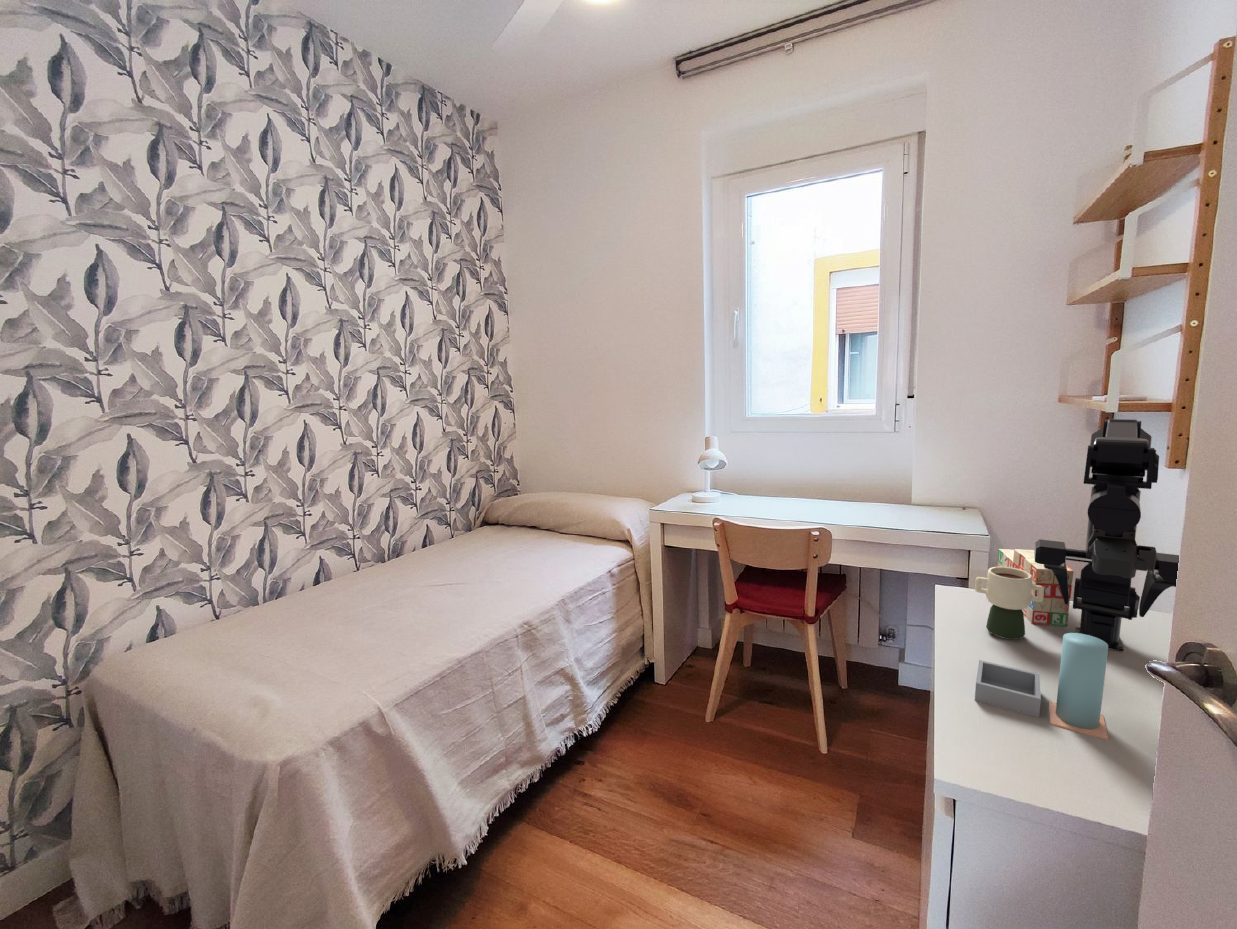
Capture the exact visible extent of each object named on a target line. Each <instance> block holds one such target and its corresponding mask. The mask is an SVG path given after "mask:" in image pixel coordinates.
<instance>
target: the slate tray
mask: <svg viewBox="0 0 1237 929" xmlns="http://www.w3.org/2000/svg"><path fill="white" fill-rule="evenodd" d="M1040 677H1041V675H1040V673H1038V672H1033V671H1029V670H1024V669H1021V668H1017V667H1016V668H1015V667H1012V666H1007V665H1003V664H998V663H994V662H990V661H985V660H982V659H979V660H978V666H977V674H976V680H975V692H974V693H975V694H974V701H976V702H981V703H984V704H988V705H990V706H991V705H992V706H995V707H999V708H1003V709H1006V710H1008V711H1009V710H1010V711H1013V712H1018V713H1020V714H1021V713H1022V714H1025V715H1029V716H1033V717H1036V718H1040V715H1041V714H1040V711H1041V701H1042V698H1041V697H1042V694H1041V693H1042V691H1041V678H1040Z"/></svg>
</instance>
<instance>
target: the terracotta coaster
mask: <svg viewBox="0 0 1237 929" xmlns="http://www.w3.org/2000/svg"><path fill="white" fill-rule="evenodd" d="M1056 704H1057V702H1056V701H1055V702H1054V701H1051V700H1049V701H1048V709H1049V710H1048V712H1049V723H1050V725H1052V726H1055V727H1059V728H1062V729H1065V730H1070V731H1073V732H1077V733H1081V734H1085V735H1088V736H1092V737H1095V738H1100V739H1103V740H1107V741H1108V740H1109V737H1108V731H1107V727H1106V722H1105V717H1104V715H1103V714H1102V713H1101V714H1100V723H1099V727H1098V728H1096V729H1083V728H1078V727H1075V726H1072V725H1070V724H1068V723H1066V722H1064V721H1062V720H1061V719H1060V718H1058V717H1057V715H1056Z"/></svg>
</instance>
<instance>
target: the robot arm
mask: <svg viewBox="0 0 1237 929" xmlns="http://www.w3.org/2000/svg"><path fill="white" fill-rule="evenodd" d="M1152 438H1153V436H1152V435H1151V434H1149V433H1148V432H1147V431H1145V430H1144V429H1143V428H1142V421H1141V420H1137V419H1130V418H1128V419H1126V418H1125V419H1123V418H1118V419H1117V418H1115V419H1114V418H1110V419H1108V420H1104V421H1103V426H1102V427H1101V428H1100V429H1098V430H1096V431H1095V432H1093V433H1092V434H1091V437H1090V444H1088V446H1087V453H1086V461H1085V469H1084V474H1083V475H1084V477H1083V484H1084V485H1093V486H1092V487H1091V492H1090V499H1089V503H1088V508H1087V517H1088V520H1087V533H1086V541H1085V550H1083V549H1074V548H1067V547H1066V543H1065V541H1056V540H1047V539H1038V540H1037V541H1035V542H1034V550H1035V551H1034V557H1035V562H1036V563H1039V564H1044V568H1046V569H1050V570H1052V571H1053V573H1054V574H1055V576H1056V578H1057V581H1058V583H1059V586H1060V589H1061V593H1062V596H1063V599H1064V603H1065V604H1067V605H1068V600H1069V593H1068V580H1067V567H1066V566H1067V564H1066V562H1067V561H1072V562H1073V561H1074V562H1079V563H1081V562H1082V563H1087V564H1086V565H1085V566H1083V567H1082V568H1081V570H1080V577H1079V578H1078V577H1075V580H1074V587H1073V598H1072V609H1075V610H1081V613H1080V623H1079V627H1078V626H1076V627H1075V630H1074V631H1075V633H1080V634H1086V635H1090V636H1093V637H1096V638H1099V639H1101V640H1103V641H1104V642H1106V643H1107V644H1108V650H1109V649H1110V650H1113V651H1120V652H1124V651H1125V650H1124V649H1125V648H1124V645H1123V642H1122V640H1121V635H1120V634H1121V626H1122V619H1127V620H1129V621H1132V620H1133V619H1134V618H1135V619H1136V618H1137V617H1138V615H1139V617H1140V618H1144V617H1145V616H1146V614H1147V613H1148V612H1149V610H1150V609H1151V607H1152V605H1153V604H1154V603H1155V602H1156V600H1157V599H1158V598H1159V596H1161V594H1162V593H1163V592H1164V591H1166V590H1167V589H1170V588H1171V587H1173V588H1177V587H1176V579H1177V571H1178V563H1179V555H1180V554H1171V553H1164V552H1157V549H1156V547H1155V546H1149V545H1138V544H1137V542H1136V535H1137V526H1138V524H1139V523H1140V520H1141V518H1142V512H1141V503H1140V502H1141V501H1140V500H1141V495H1142V494H1141V493H1142V491H1141V490H1140V489H1147V490H1151V489H1152V486H1153V485H1152V484H1154V483H1157V484H1158V479H1159V465H1160V463H1159V462H1160V455H1159V454H1158V453H1157V449H1155V447H1152ZM1090 473H1091V474H1092V475H1091V477H1090ZM1144 477H1146V480H1145V481H1144ZM1137 571H1143V572H1146V576H1145V579H1144V584H1143V588H1142V592H1141V596H1140V595H1138V592H1137V591H1136V587H1132V586H1131V585H1132V579H1134V578H1135V577H1136V573H1137ZM1138 610H1139V611H1138Z"/></svg>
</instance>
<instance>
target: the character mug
mask: <svg viewBox="0 0 1237 929" xmlns="http://www.w3.org/2000/svg"><path fill="white" fill-rule="evenodd" d="M986 576H987V577H982V576H977V577H976V578H975V580H974V581H975V582H974V584H975V585H974V589H975V592H976V593H979V594H985V596H986V599H987V601H988V602H989V603H990V604H992V605H991V606H990V607H989V608H990V609H989V613H988V616H987V621H986V626H985V628H986V629H987V630H988V632H990V633H991V634H992V635H994V636H997V637H999V638H1002V639H1007V640H1018V639H1022V638H1024V637H1025V635H1026V627H1025V616H1024V614H1023V611H1022V609H1026V608H1028V606H1029V604H1030V601H1035V602H1042V601H1043V597H1044V587H1042V586H1039V585H1032V575H1031V574H1030V573H1028V572H1026V571H1023V570H1020V569H1016V568H1011V567H998V566H994V567H989V568H988V570H987V575H986ZM982 583H986V588H982ZM1031 589H1033V590H1037V591H1038V592H1037V597H1034V596H1031Z"/></svg>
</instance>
